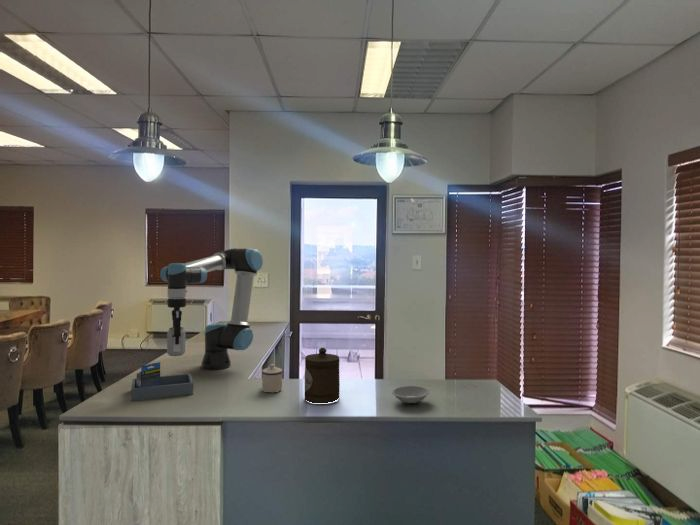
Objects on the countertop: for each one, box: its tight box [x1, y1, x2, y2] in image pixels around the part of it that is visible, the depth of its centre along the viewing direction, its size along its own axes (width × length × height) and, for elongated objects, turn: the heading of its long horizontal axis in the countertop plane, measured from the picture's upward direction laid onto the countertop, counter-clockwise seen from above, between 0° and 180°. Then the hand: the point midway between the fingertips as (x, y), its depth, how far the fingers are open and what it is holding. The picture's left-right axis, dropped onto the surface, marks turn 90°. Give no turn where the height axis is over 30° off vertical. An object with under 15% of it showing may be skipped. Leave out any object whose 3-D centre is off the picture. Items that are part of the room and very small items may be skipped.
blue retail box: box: [136, 361, 161, 388], centre depth 188 cm, size 9×4×12 cm, turn 145°
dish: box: [391, 385, 431, 404], centre depth 182 cm, size 18×14×5 cm
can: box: [166, 326, 186, 357], centre depth 192 cm, size 8×8×12 cm
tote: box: [130, 373, 194, 402], centre depth 190 cm, size 24×16×5 cm, turn 115°
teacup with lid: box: [261, 363, 283, 393], centre depth 197 cm, size 12×9×12 cm
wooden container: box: [304, 347, 340, 403], centre depth 185 cm, size 15×15×22 cm
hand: (176, 349), depth 192 cm, fingers closed on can, 7 cm apart
